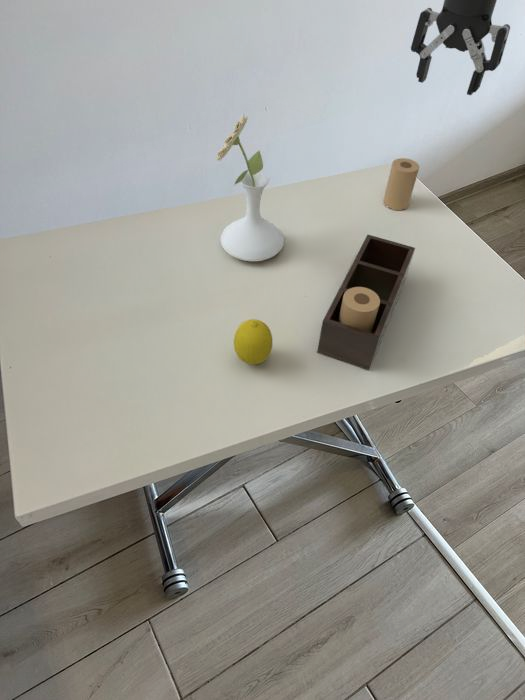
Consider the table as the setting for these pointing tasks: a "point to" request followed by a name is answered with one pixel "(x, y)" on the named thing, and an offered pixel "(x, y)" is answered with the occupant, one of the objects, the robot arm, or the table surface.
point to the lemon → (253, 341)
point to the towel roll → (400, 183)
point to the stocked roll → (359, 308)
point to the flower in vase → (250, 211)
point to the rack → (379, 276)
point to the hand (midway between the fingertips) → (445, 87)
